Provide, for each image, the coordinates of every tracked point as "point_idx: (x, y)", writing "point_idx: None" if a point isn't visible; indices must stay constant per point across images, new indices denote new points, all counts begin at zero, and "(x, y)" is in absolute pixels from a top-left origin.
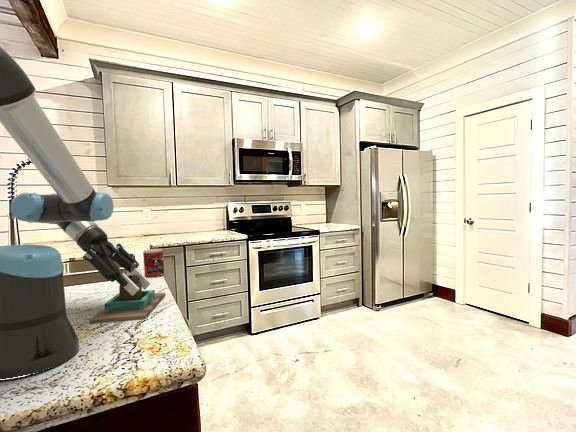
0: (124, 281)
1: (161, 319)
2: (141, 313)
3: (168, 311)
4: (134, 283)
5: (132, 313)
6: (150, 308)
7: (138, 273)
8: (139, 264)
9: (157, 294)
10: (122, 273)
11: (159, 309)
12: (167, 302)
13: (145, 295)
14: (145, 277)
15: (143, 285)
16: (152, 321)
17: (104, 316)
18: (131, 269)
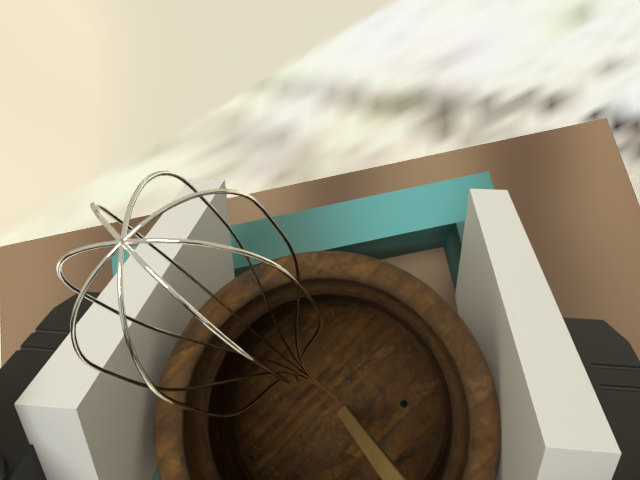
0: (609, 355)
1: (587, 14)
2: (570, 171)
3: (425, 40)
4: (391, 298)
5: (576, 254)
6: (446, 158)
7: (248, 257)
8: (96, 204)
9: (43, 298)
10: (599, 451)
11: (381, 129)
12: (213, 145)
13: (310, 248)
14: (156, 231)
15: (220, 281)
16: (632, 57)
17: None
18: (281, 375)
